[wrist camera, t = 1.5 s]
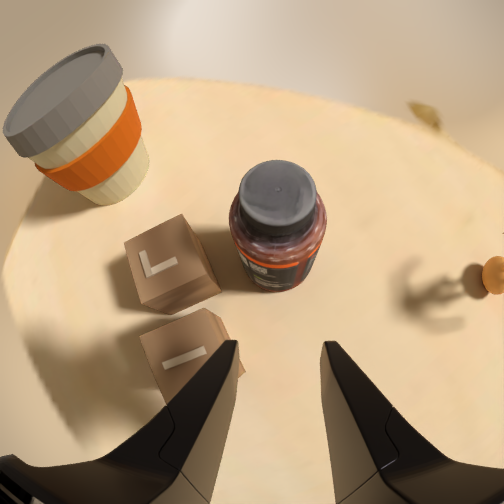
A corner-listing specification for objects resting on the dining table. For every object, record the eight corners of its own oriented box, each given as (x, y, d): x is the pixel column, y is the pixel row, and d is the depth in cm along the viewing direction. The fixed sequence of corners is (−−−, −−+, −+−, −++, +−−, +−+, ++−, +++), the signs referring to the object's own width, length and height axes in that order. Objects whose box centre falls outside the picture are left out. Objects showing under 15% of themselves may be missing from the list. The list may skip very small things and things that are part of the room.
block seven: (168, 316, 23) (137, 304, 17) (151, 267, 25) (120, 243, 19) (222, 292, 23) (205, 273, 18) (201, 243, 25) (180, 212, 19)
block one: (189, 393, 21) (162, 406, 15) (167, 341, 22) (134, 337, 16) (245, 371, 21) (235, 380, 15) (220, 317, 23) (203, 307, 17)
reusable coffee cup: (116, 238, 26) (20, 153, 12) (62, 197, 29) (-9, 129, 15) (184, 149, 29) (141, 39, 15) (120, 126, 32) (73, 46, 18)
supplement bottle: (306, 226, 25) (325, 142, 14) (315, 290, 23) (349, 239, 12) (241, 231, 25) (219, 150, 15) (245, 296, 23) (220, 250, 13)
